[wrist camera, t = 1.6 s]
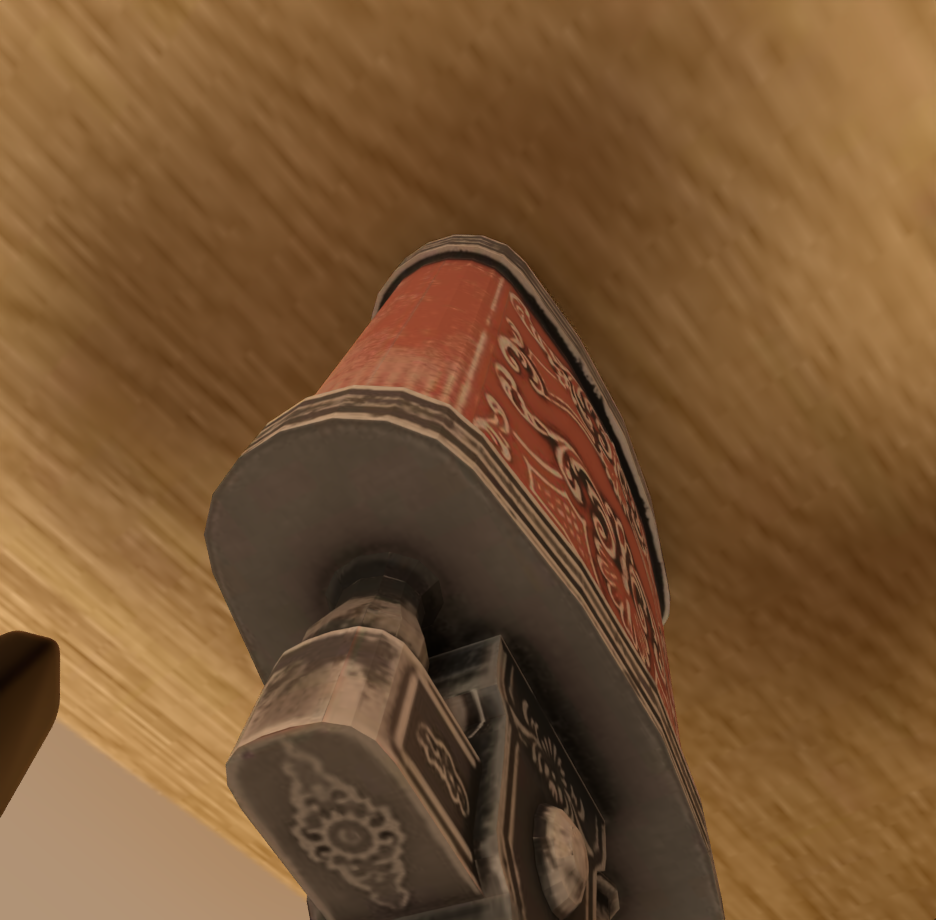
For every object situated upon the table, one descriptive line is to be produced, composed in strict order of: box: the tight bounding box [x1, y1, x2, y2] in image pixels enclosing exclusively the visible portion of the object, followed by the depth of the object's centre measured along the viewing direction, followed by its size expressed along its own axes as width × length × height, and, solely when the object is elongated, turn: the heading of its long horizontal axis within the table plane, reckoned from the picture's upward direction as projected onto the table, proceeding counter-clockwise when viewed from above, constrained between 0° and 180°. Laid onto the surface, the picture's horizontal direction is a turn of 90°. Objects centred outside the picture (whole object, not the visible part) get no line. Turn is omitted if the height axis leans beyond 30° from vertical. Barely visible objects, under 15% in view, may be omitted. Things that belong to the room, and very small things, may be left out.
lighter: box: [204, 235, 725, 920], centre depth 10 cm, size 8×3×10 cm, turn 26°
